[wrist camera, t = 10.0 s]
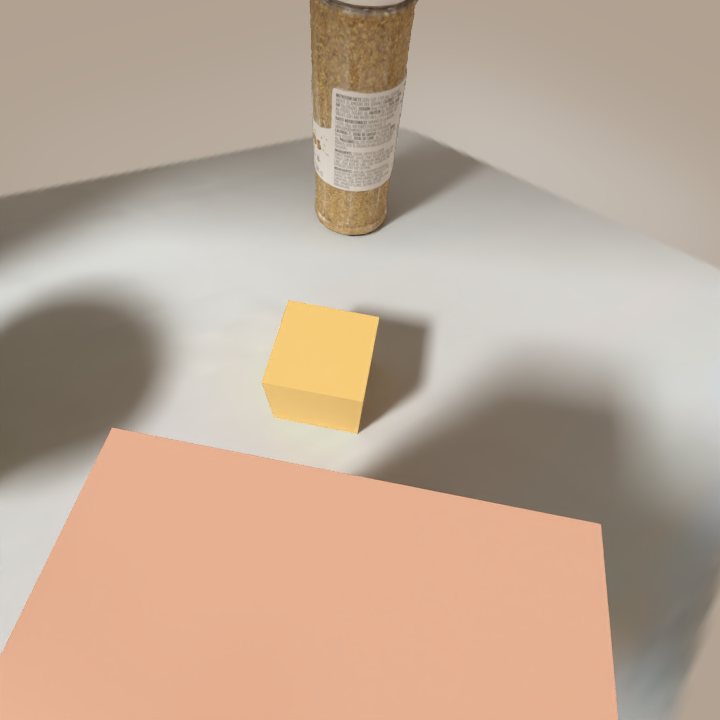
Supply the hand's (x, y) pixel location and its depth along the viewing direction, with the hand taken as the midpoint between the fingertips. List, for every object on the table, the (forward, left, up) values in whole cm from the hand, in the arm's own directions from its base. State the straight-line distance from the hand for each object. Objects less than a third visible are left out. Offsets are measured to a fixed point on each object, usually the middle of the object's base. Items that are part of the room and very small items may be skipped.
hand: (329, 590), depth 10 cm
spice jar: (-3, +20, -8) cm, 22 cm away
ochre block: (-2, +8, -8) cm, 12 cm away
